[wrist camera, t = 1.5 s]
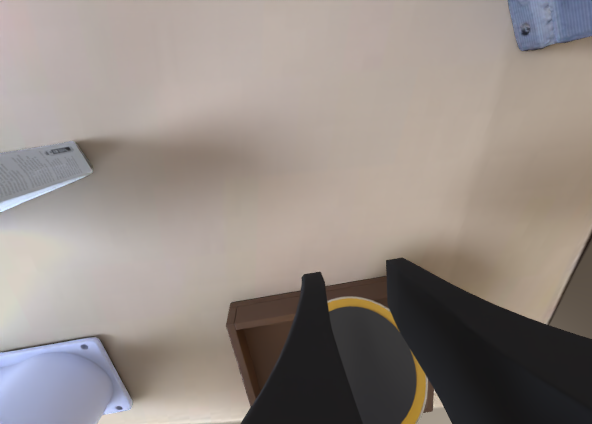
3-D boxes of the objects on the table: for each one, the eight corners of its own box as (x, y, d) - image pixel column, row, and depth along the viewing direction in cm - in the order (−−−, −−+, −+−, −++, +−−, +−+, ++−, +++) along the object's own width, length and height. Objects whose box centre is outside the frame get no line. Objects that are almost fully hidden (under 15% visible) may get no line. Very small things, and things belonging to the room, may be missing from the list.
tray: (262, 414, 26) (261, 442, 24) (230, 302, 21) (225, 325, 19) (419, 385, 27) (432, 411, 24) (422, 269, 22) (439, 288, 20)
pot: (289, 367, 23) (300, 543, 14) (266, 262, 20) (261, 404, 10) (385, 349, 24) (461, 512, 14) (380, 242, 20) (479, 364, 10)
